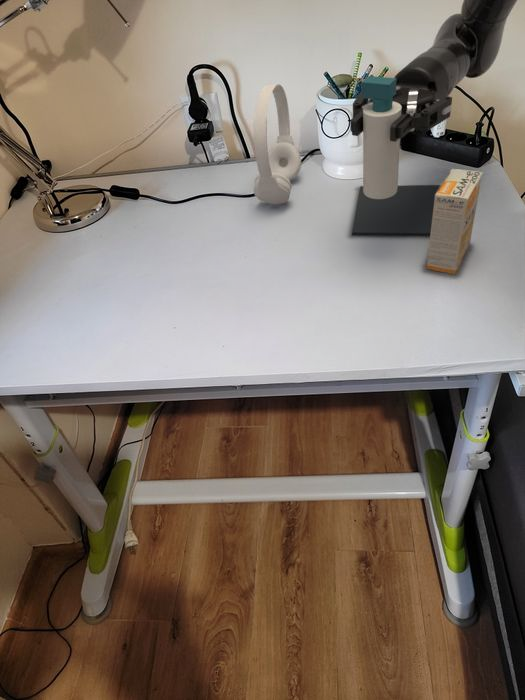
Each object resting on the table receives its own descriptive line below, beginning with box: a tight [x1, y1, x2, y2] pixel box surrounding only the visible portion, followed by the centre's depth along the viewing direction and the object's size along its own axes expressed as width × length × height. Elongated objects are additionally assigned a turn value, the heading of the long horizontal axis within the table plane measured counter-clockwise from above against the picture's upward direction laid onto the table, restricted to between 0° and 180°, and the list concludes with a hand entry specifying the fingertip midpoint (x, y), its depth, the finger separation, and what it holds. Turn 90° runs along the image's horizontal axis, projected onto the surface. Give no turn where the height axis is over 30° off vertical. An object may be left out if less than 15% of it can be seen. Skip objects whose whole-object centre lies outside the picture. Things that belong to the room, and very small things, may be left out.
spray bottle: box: [360, 75, 402, 199], centre depth 71 cm, size 5×5×16 cm
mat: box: [351, 184, 442, 237], centre depth 92 cm, size 16×16×1 cm
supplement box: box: [426, 168, 484, 275], centre depth 77 cm, size 8×5×13 cm, turn 150°
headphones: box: [253, 83, 302, 205], centre depth 96 cm, size 7×18×20 cm, turn 166°
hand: (373, 131), depth 68 cm, fingers closed on spray bottle, 5 cm apart
